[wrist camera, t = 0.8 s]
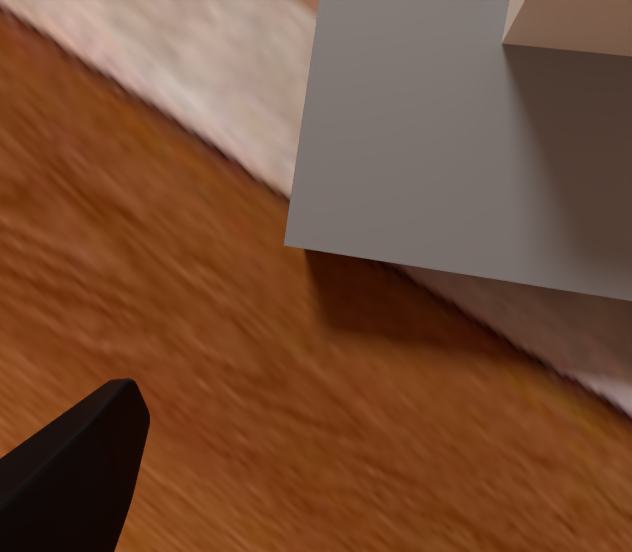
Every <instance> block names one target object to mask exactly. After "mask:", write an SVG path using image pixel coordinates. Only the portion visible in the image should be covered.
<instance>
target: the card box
mask: <svg viewBox="0 0 632 552" xmlns="http://www.w3.org/2000/svg"><path fill="white" fill-rule="evenodd" d="M502 43H503V44H512V45H522V46H532V47H542V48H552V49H562V50H572V51H582V52H592V53H602V54H612V55H622V56H632V0H509V6H508V11H507V17H506V22H505V28H504V34H503V39H502Z"/></svg>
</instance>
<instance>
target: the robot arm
mask: <svg viewBox="0 0 632 552" xmlns="http://www.w3.org/2000/svg"><path fill="white" fill-rule="evenodd" d="M149 425H150V415H149V411H148V408H147V406H146V404H145V401H144V399H143V397H142V395H141V392H140V390H139V388H138V386H137V384H136V382H135V381H134V380H133V379H130V378H126V379H115V380H110V381H108V382H107V383H105V384H104V385H102V386H101V387H100V388H98V389H97V390H95V391H94V392H93V393H91V394H90V395H88V396H87V397H86V398H84V399H83V400H82V401H80V402H79V403H77V404H76V405H75V406H73V407H72V408H70V409H69V410H68V411H66V412H65V413H63V414H62V415H61V416H59V417H58V418H56V419H55V420H54V421H52V422H51V423H50V424H48V425H47V426H45V427H44V428H43V429H41V430H40V431H38V432H37V433H36V434H34V435H33V436H31V437H30V438H29V439H27V440H26V441H24V442H23V443H22V444H20V445H19V446H17V447H16V448H15V449H13V450H12V451H11V452H9V453H8V454H6V455H5V456H4V457H2V458H1V459H0V552H114V551H115V548H116V545H117V542H118V539H119V536H120V534H121V531H122V528H123V525H124V522H125V519H126V516H127V513H128V510H129V507H130V504H131V500H132V497H133V493H134V489H135V485H136V481H137V476H138V472H139V468H140V464H141V459H142V455H143V451H144V447H145V442H146V438H147V434H148V429H149Z"/></svg>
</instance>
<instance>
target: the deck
mask: <svg viewBox="0 0 632 552" xmlns="http://www.w3.org/2000/svg"><path fill="white" fill-rule="evenodd" d="M508 6H509V0H320V2H319V9H318V15H317V22H316V29H315V36H314V43H313V49H312V56H311V63H310V70H309V77H308V83H307V90H306V97H305V104H304V111H303V118H302V124H301V131H300V138H299V145H298V152H297V158H296V165H295V172H294V179H293V186H292V192H291V199H290V206H289V213H288V220H287V227H286V233H285V240H284V245H285V246H291V247H297V248H304V249H310V250H316V251H322V252H328V253H335V254H341V255H347V256H353V257H360V258H366V259H372V260H378V261H384V262H391V263H397V264H403V265H409V266H416V267H422V268H428V269H434V270H441V271H447V272H453V273H459V274H465V275H472V276H478V277H484V278H490V279H497V280H503V281H509V282H515V283H521V284H528V285H534V286H540V287H546V288H553V289H559V290H565V291H571V292H578V293H584V294H590V295H596V296H602V297H609V298H615V299H621V300H627V301H632V56H622V55H612V54H602V53H592V52H582V51H572V50H562V49H552V48H542V47H532V46H522V45H512V44H503V43H502V39H503V34H504V28H505V22H506V17H507V11H508Z"/></svg>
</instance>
